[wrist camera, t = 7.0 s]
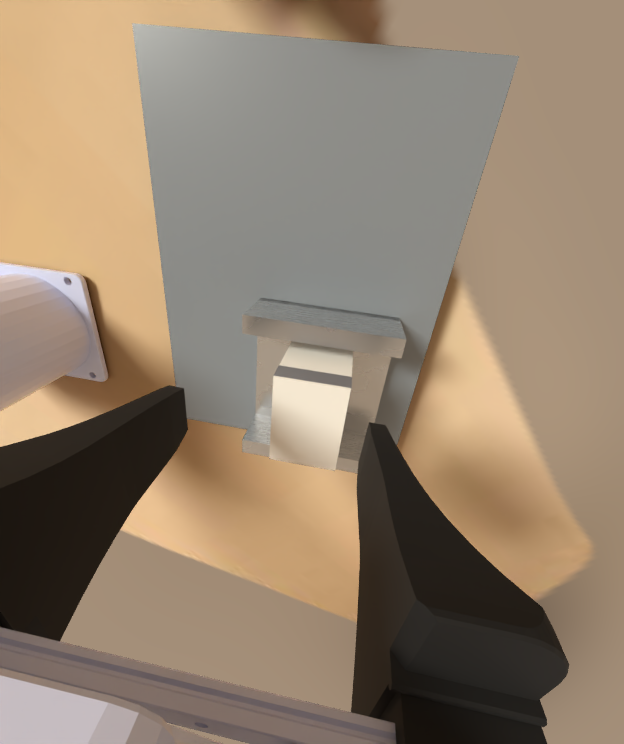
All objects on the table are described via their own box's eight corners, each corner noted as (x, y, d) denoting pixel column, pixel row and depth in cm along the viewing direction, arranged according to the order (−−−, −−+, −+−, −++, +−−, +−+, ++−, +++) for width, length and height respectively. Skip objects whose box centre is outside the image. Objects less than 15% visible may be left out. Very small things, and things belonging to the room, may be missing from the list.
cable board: (187, 408, 24) (179, 417, 23) (149, 36, 14) (132, 23, 13) (392, 444, 23) (393, 455, 22) (506, 68, 13) (519, 56, 12)
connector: (288, 405, 21) (268, 459, 16) (294, 335, 18) (272, 376, 14) (341, 414, 20) (335, 471, 16) (354, 344, 18) (351, 388, 14)
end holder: (257, 420, 22) (242, 452, 20) (261, 297, 18) (242, 314, 15) (368, 440, 22) (369, 475, 19) (399, 317, 18) (406, 339, 15)
